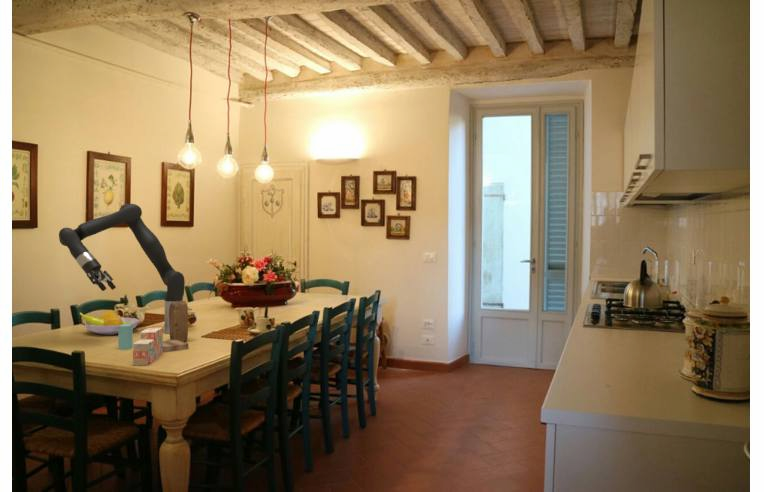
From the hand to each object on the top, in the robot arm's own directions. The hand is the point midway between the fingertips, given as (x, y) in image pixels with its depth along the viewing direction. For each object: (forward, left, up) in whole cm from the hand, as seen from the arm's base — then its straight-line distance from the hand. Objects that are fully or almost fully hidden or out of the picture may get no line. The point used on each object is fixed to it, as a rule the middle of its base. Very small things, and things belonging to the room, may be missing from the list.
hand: (109, 289), depth 273 cm
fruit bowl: (-11, -32, -27) cm, 44 cm away
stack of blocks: (-3, +39, -27) cm, 48 cm away
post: (-3, +12, -27) cm, 30 cm away
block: (-29, +11, -27) cm, 41 cm away
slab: (-19, +25, -28) cm, 42 cm away
